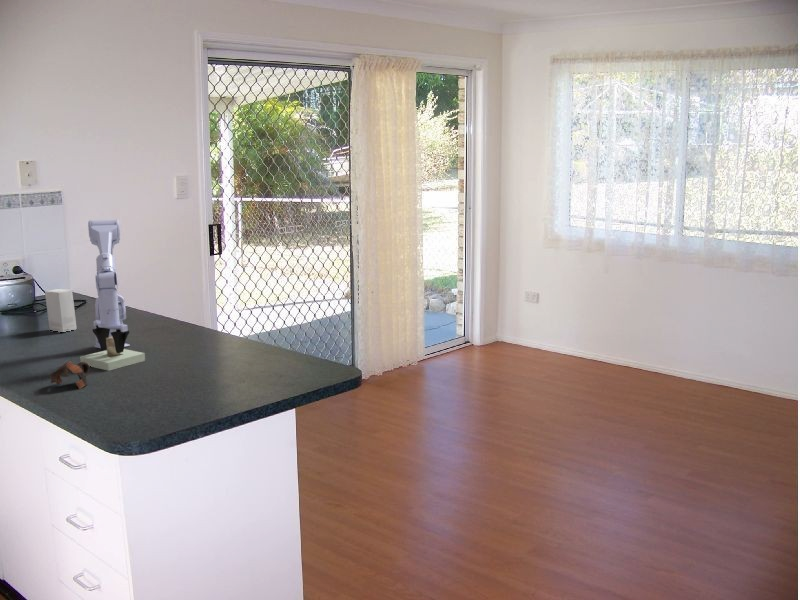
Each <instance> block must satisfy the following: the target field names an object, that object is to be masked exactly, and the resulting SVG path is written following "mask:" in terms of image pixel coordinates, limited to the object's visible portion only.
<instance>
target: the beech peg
mask: <svg viewBox="0 0 800 600" xmlns="http://www.w3.org/2000/svg"><path fill="white" fill-rule="evenodd" d="M106 345H107V356H108V357H110V358H112V357H116V356H119V355H120V353H117V352H116V349H115V343H114V339H113V337H108V338H106Z"/></svg>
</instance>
